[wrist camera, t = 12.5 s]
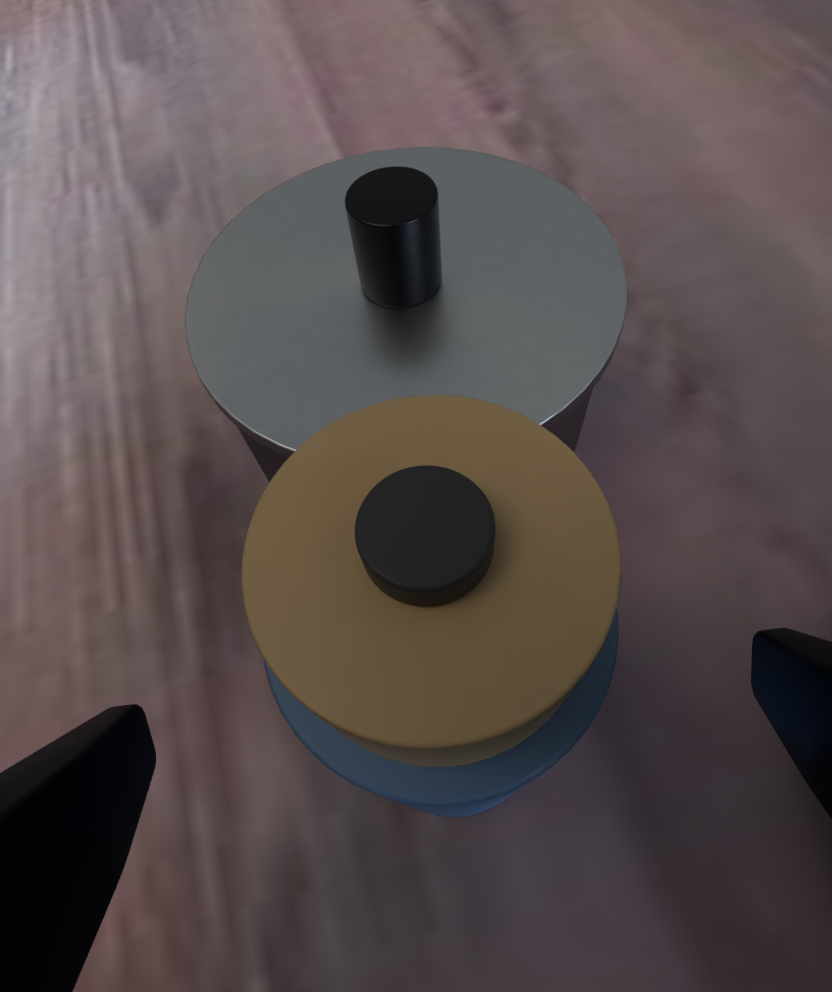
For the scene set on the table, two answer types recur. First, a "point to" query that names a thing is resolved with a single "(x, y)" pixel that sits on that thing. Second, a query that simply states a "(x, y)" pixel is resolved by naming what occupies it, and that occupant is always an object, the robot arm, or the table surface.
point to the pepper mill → (435, 599)
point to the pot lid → (405, 293)
